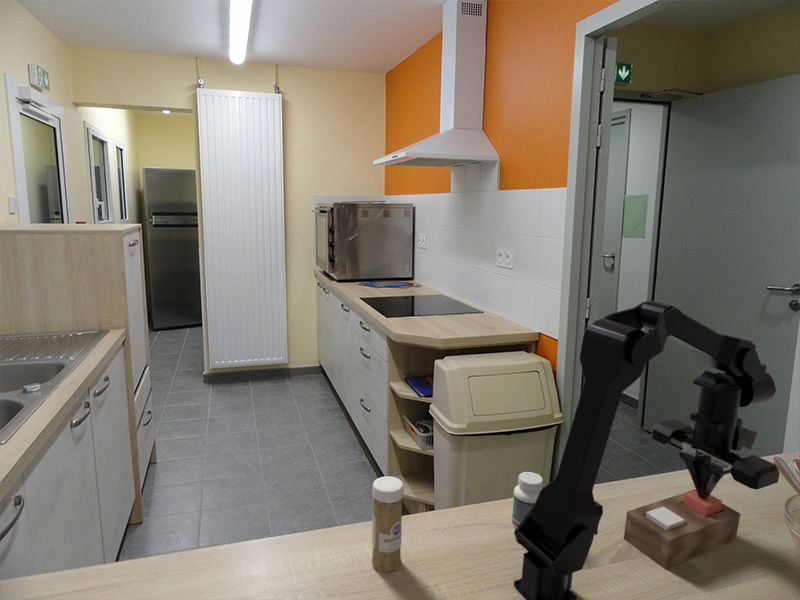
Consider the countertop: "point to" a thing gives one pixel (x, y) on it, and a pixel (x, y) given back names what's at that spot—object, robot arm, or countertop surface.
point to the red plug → (702, 504)
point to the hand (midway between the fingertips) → (703, 497)
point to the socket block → (680, 532)
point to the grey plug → (665, 518)
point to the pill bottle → (525, 495)
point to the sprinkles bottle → (387, 523)
